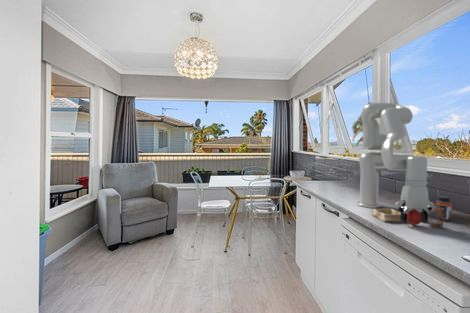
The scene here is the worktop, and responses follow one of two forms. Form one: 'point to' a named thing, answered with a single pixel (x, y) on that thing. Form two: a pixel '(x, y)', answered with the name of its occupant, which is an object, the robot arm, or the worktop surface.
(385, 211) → the wooden tray
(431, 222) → the clip
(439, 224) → the gray square bar
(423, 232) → the worktop surface
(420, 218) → the onion
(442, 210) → the supplement bottle
